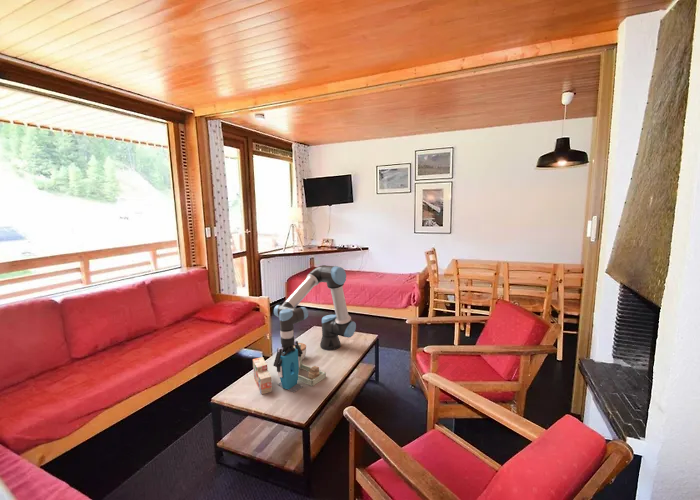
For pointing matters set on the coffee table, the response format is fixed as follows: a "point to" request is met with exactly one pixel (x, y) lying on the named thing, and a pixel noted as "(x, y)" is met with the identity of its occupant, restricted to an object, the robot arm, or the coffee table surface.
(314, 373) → the offcut stack
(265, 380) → the stack of blocks
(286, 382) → the block
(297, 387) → the felt mat
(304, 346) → the lidded bowl
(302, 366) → the frame
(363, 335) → the coffee table surface
